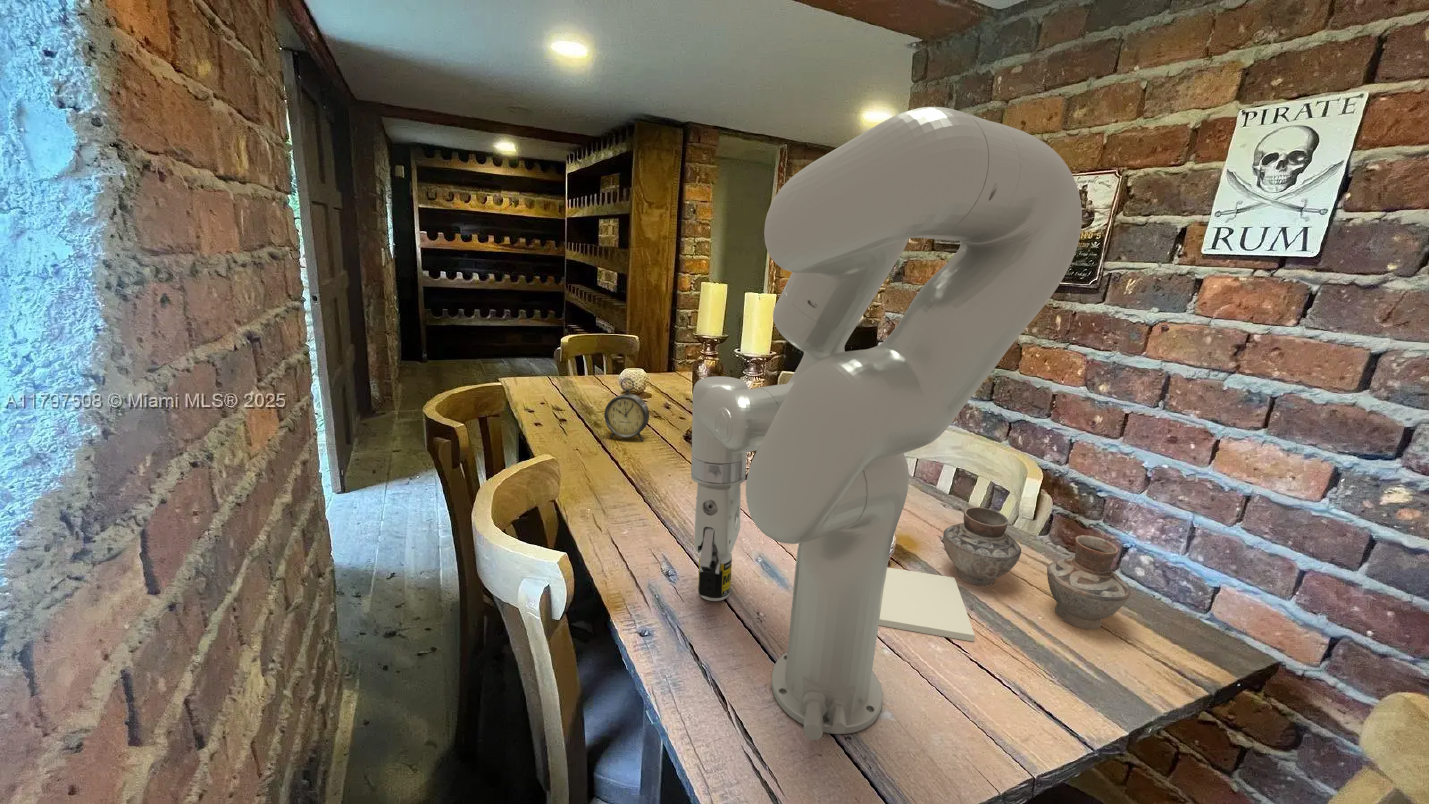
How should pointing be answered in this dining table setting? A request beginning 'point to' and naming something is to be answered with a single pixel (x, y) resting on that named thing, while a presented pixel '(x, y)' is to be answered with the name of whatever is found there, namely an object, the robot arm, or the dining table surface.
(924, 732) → the dining table surface
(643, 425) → the alarm clock
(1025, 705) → the dining table surface
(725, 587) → the supplement bottle
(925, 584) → the cream board
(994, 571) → the pottery
